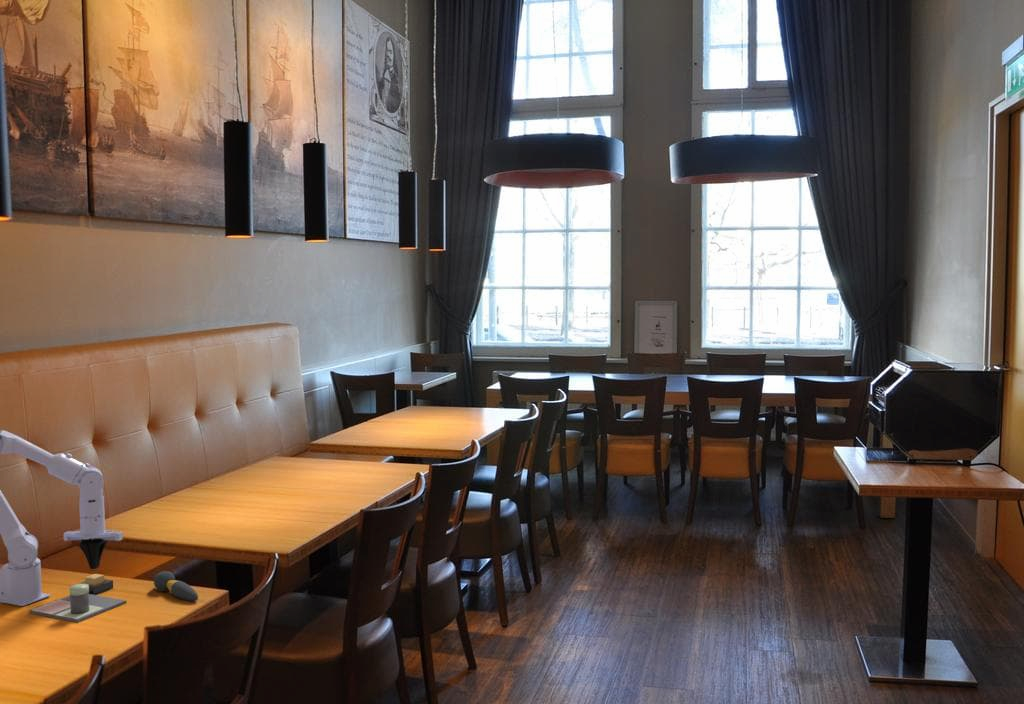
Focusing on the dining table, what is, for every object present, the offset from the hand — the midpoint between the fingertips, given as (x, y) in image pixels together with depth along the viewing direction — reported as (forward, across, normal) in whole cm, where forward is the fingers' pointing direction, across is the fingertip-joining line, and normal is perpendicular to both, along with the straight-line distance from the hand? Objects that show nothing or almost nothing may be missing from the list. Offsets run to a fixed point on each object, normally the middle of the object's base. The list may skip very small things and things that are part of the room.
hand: (94, 567), depth 228 cm
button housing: (+6, 0, 0) cm, 6 cm away
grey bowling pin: (+6, +22, -2) cm, 23 cm away
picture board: (+6, +3, -13) cm, 14 cm away
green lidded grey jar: (+5, +6, -17) cm, 19 cm away
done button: (+4, 0, 0) cm, 4 cm away
